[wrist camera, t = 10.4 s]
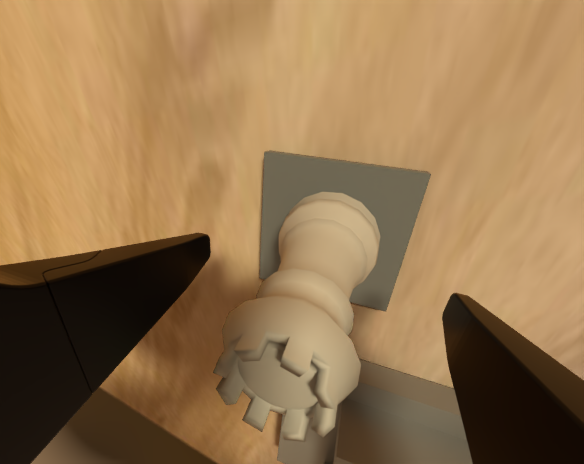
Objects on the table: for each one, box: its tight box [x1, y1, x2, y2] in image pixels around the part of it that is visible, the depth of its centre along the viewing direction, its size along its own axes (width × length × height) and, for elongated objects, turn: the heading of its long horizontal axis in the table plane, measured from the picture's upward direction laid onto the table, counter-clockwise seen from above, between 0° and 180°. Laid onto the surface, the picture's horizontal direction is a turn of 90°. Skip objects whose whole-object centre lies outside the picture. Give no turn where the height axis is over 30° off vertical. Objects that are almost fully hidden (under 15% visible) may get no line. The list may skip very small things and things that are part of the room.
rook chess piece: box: [213, 192, 380, 442], centre depth 8 cm, size 4×4×8 cm
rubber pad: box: [260, 151, 431, 312], centre depth 12 cm, size 7×7×1 cm
